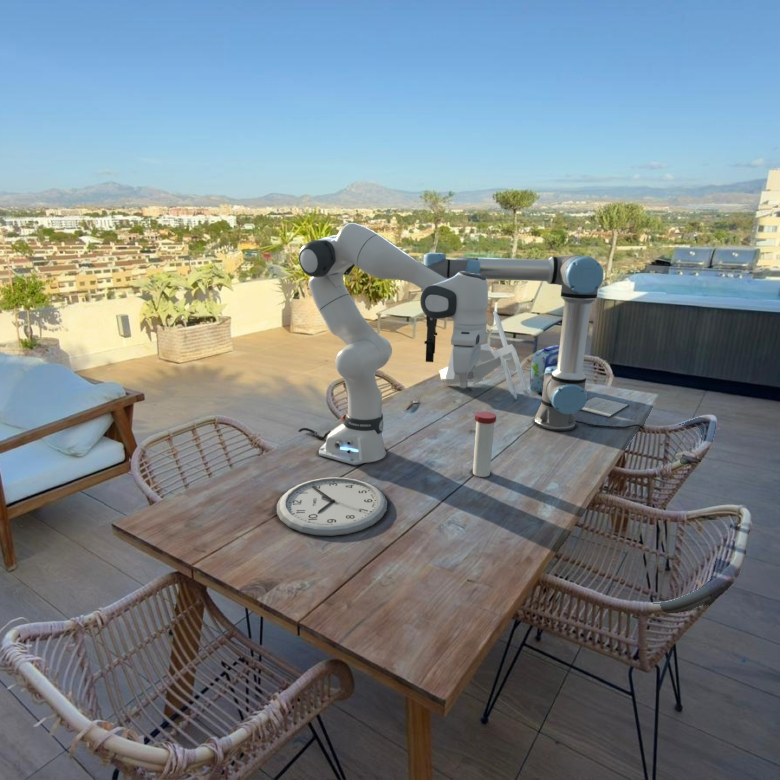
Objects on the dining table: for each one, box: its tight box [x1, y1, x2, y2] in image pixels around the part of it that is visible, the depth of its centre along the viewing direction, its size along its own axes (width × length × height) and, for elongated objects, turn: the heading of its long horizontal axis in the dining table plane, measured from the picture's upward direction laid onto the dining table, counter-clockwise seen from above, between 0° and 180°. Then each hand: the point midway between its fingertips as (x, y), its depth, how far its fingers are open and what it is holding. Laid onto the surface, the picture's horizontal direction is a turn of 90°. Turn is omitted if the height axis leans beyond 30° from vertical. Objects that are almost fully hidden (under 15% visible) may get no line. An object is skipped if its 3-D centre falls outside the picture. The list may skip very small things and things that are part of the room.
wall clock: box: [276, 476, 388, 537], centre depth 142 cm, size 30×2×30 cm
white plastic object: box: [438, 310, 531, 400], centre depth 245 cm, size 37×45×31 cm
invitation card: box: [580, 396, 629, 418], centre depth 226 cm, size 21×1×15 cm
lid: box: [474, 410, 497, 424], centre depth 158 cm, size 6×6×2 cm
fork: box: [406, 394, 421, 411], centre depth 223 cm, size 3×16×2 cm, turn 160°
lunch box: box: [529, 345, 560, 394], centre depth 245 cm, size 26×11×21 cm, turn 134°
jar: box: [472, 420, 495, 478], centre depth 160 cm, size 5×5×19 cm
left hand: (467, 382), depth 145 cm, fingers open, 8 cm apart
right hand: (430, 357), depth 190 cm, fingers open, 13 cm apart
